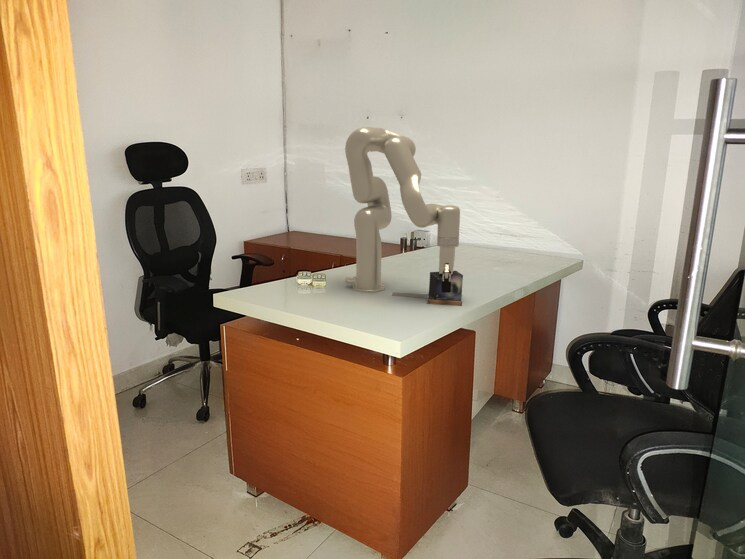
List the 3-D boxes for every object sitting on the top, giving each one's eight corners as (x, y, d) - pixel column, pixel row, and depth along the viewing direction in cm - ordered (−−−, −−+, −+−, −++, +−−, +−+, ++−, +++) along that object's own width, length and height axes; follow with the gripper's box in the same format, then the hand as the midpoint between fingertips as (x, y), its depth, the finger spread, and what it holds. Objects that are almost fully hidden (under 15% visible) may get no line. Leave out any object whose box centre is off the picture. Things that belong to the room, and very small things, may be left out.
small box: (434, 305, 183) (435, 276, 180) (427, 299, 189) (428, 271, 186) (462, 302, 185) (463, 274, 183) (454, 297, 191) (456, 270, 189)
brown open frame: (427, 306, 181) (427, 300, 181) (429, 294, 194) (429, 289, 194) (461, 308, 179) (462, 302, 179) (461, 296, 193) (461, 291, 192)
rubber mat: (389, 302, 185) (389, 301, 184) (392, 293, 195) (392, 292, 195) (425, 304, 183) (426, 303, 182) (427, 295, 193) (427, 294, 193)
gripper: (438, 236, 190) (436, 282, 194) (436, 245, 174) (434, 294, 178) (458, 237, 189) (456, 282, 193) (459, 246, 172) (456, 295, 177)
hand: (446, 288), depth 186 cm, fingers open, 9 cm apart
